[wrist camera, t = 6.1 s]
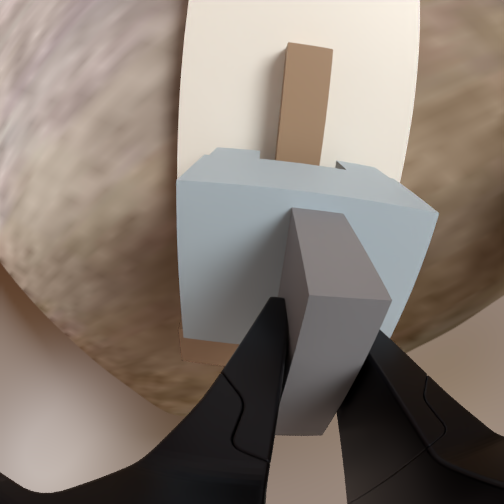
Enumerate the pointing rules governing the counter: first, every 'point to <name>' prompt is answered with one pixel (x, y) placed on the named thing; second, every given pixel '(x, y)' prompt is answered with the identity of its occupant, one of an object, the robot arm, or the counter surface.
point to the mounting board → (255, 68)
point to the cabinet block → (298, 265)
